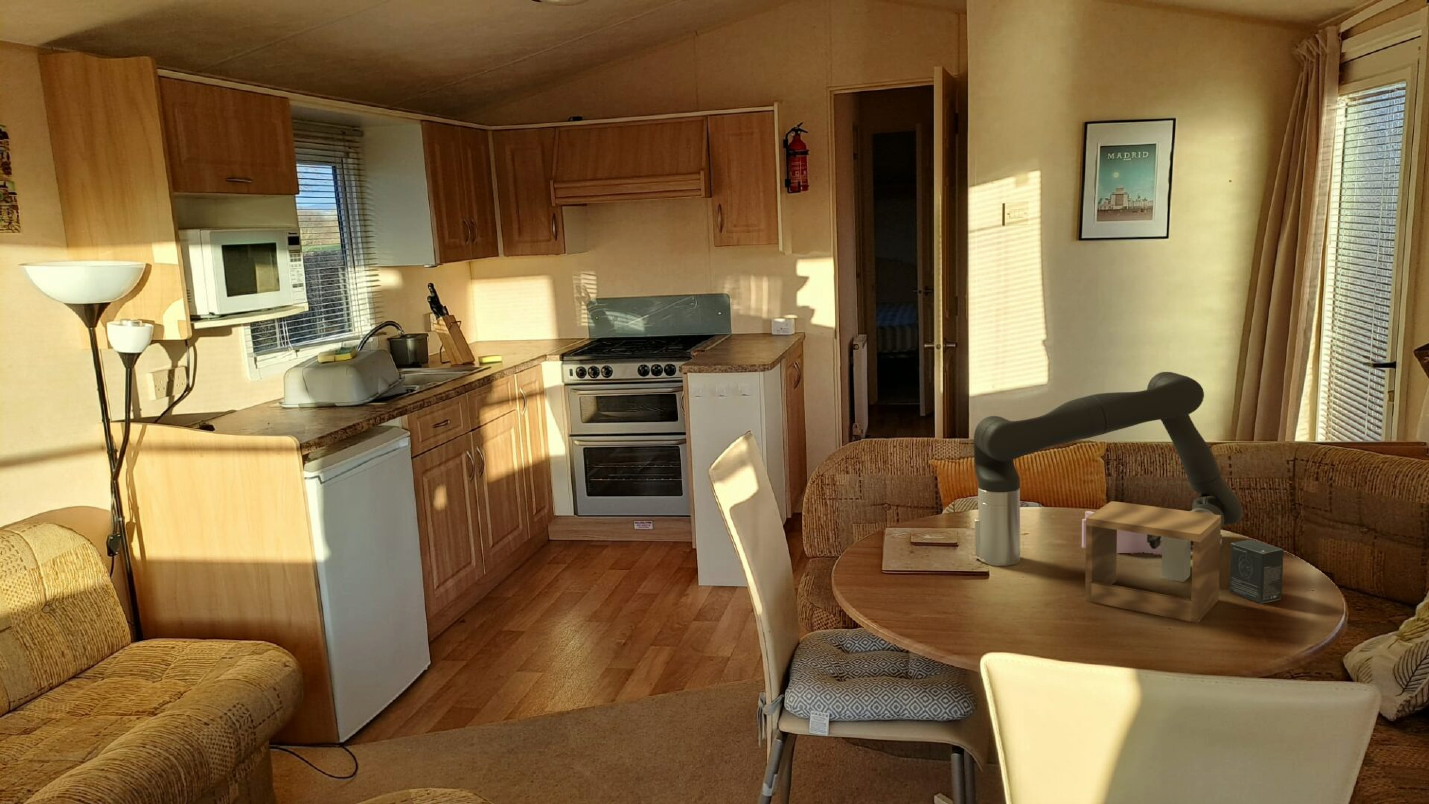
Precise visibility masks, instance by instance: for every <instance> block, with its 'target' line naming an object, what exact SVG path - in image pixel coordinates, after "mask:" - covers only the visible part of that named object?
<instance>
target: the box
mask: <svg viewBox="0 0 1429 804" xmlns="http://www.w3.org/2000/svg"><path fill="white" fill-rule="evenodd" d="M1229 567H1230V568H1229V574H1230V575H1229V592H1230V593H1231V594H1234V595H1236V596H1237V595H1238V596H1241V597H1242V598H1243V597H1244V598H1245V599H1248V600H1251V601H1253V602H1256V603H1259V604H1264V603H1265V604H1267V603H1271V602H1276V601H1280V600H1282V597H1283V595H1282V594H1283V593H1282V592H1283V572H1284V570H1283V569H1284V548H1281V547H1278V546H1275V545H1271V544H1268V543H1264V542H1262V541H1258V540H1254V539H1246V540H1240V541H1235V542H1231V543H1230V566H1229Z"/></svg>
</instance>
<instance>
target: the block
mask: <svg viewBox="0 0 1429 804" xmlns="http://www.w3.org/2000/svg"><path fill="white" fill-rule="evenodd" d="M1191 553H1192V550H1191V541H1189V540H1182V539H1176V538H1169V537H1162V555H1161V579H1163V578H1165V579H1164V580H1169V581H1175V582H1180V583H1185V581H1186V580H1188V578H1190V576H1191V558H1192V557H1191V555H1192V554H1191Z"/></svg>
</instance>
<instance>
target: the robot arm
mask: <svg viewBox="0 0 1429 804" xmlns="http://www.w3.org/2000/svg"><path fill="white" fill-rule="evenodd" d="M1204 397H1205V392H1204V388H1203V387H1202V386H1201V384H1200V383H1199V382H1198V381H1197V380H1195V379H1193V378H1192V377H1189V376H1186V375H1183V374H1180V373H1178V372H1177V373H1176V372H1172V371H1160V372H1159V373H1157V374H1154V376H1153V377H1151V378H1150V380H1149V382H1148V384H1147V387H1146V389H1144V390H1138V391H1127V392H1126V391H1122V392H1120V391H1119V392H1104V393H1095V394H1091V395H1086V396H1082V397H1079V398H1078V397H1077V398H1075V399H1074V398H1073V399H1072V400H1069V401H1067V402H1064V403H1062V404H1061V405H1059V406H1057V407H1056V408H1054V409H1053V410H1050V411H1049V412H1048V413H1047V412H1046V413H1045V414H1044V415H1040V416H1035V417H1031V418H1027V419H1019V420H1009V419H1006V418H1005V417H1002V416H998V415H990V416H987V417H985V418H983V419H982V420H980V422H979V423H978V424H977V425H976V427H975V430H974V433H973V461H974V471H975V476H976V479H977V501H978V504H977V505H978V506H977V507H978V509H977V510H978V511H977V512H978V514H977V516H978V517H977V518H976V519H975V520H974V557H975V556H977V557H980V558H981V559H984V560H985V562H987V564H986V565H990V566H995V567H1000V566H1001V567H1004V566H1005V567H1006V566H1013V565H1016V564H1019V562H1020V561H1021V478H1020V475H1019V472H1018V471H1017V469H1016V466H1015V460H1017V459H1019V458H1021V457H1024V456H1028V455H1030V454H1032V453H1034V452H1037V451H1040V450H1043V449H1046V448H1050V447H1053V446H1059V445H1065V444H1068V443H1069V444H1070V443H1072V442H1073V443H1074V442H1076V441H1081V440H1085V439H1086V440H1087V439H1091V438H1094V437H1098V436H1102V435H1105V434H1109V433H1111V432H1112V433H1113V432H1115V431H1119V430H1123V429H1127V428H1130V427H1133V426H1137V425H1140V424H1144V423H1147V422H1153V421H1159V420H1160V421H1161V423H1162V425H1163V427H1164V429H1165V430H1166V432H1167V434H1168V436H1169V438H1170V440H1171V441H1172V444H1173V446H1174V448H1175V450H1176V452H1177V455H1178V457H1179V459H1180V462H1181V465H1182V468H1183V469H1184V470H1183V471H1184V473H1185V475H1186V478H1187V480H1188V483H1189V486H1190V488H1191V490H1192V491H1193V492H1195V493H1197V494H1202V495H1203V494H1204V495H1207V496H1201V497H1197V498H1196V499H1194V500H1193V501H1192V505H1191V507H1192V509H1191V510H1190V511H1191V512H1199V513H1206V514H1214V515H1221V528H1223V526H1224V525H1226V526H1227V525H1234V524H1237V523H1239V521H1241V520H1242V517H1243V513H1244V512H1243V509H1244V508H1243V506H1242V503H1241V501H1240V499H1239V497H1238V496H1237V495H1236V494H1235V492H1234V491H1233V490H1232V489H1231V488H1230V487H1229V485H1228V483H1226V481H1225V480H1224V478H1223V476H1222V473H1221V471H1220V469H1219V465H1218V462H1217V460H1216V458H1215V455H1214V453H1213V452H1212V449H1211V448H1210V447H1209V445H1208V444H1207V442H1206V441H1205V439H1204V437H1203V436H1202V435H1201V433H1200V432H1199V431H1198V429H1197V428H1196V426H1195V424H1194V422H1193V420H1192V418H1191V416H1190V414H1192V413H1194V412H1195V411H1197V410H1198V408H1200V407H1201V405H1202V403H1203V402H1204ZM1208 495H1209V496H1208ZM1160 539H1161V536H1155V535H1149V534H1147V542H1148V543H1150V546H1151V548H1152V549H1156V548H1157V547H1158V546H1160V545H1162V541H1160ZM1222 544H1223V535H1222V534H1221V537H1220V548H1221V547H1222ZM1191 551H1193V541H1191Z"/></svg>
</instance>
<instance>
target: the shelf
mask: <svg viewBox="0 0 1429 804" xmlns="http://www.w3.org/2000/svg"><path fill="white" fill-rule="evenodd" d="M1093 512H1094V513H1093V514H1091V515H1090V516H1088V517H1087V518H1086V548H1085V590H1084V591H1085V594H1084V595H1085V598H1084V599H1085V600H1084V601H1085V602H1089V603H1094V604H1100V605H1104V606H1110V607H1114V608H1120V609H1126V610H1131V611H1135V612H1141V613H1145V614H1150V615H1156V616H1160V617H1164V618H1165V617H1167V618H1170V619H1171V618H1172V619H1176V620H1181V621H1184V622H1185V621H1187V622H1192V623H1197V624H1198V623H1199V622H1200V621H1201V620H1202V619H1203V617H1205V615H1206V614H1207V613H1208V612H1209V611H1210V610H1211V609H1212V607H1214V605H1215V604H1216V603H1217V602H1218V601H1219V599H1220V598H1219V596H1220V595H1219V593H1220V592H1219V589H1220V565H1221V564H1220V562H1221V561H1220V559H1221V547H1220V537H1221V535H1222V533H1221V531H1222V527H1221V515H1214V514H1206V513H1199V512H1191V510H1182V509H1175V508H1166V507H1159V506H1154V505H1153V506H1152V505H1145V504H1137V503H1129V502H1123V501H1122V502H1120V501H1114V500H1111V501H1110V502H1108V503H1106V504H1105V505H1104V506H1102V507H1101V508H1099V509H1097V510H1096V511H1093ZM1117 530H1122V531H1129V532H1135V533H1142V534H1149V535H1155V536H1162V537H1169V538H1176V539H1182V540H1189V541H1193V550H1192V563H1191V565H1192V568H1191V569H1192V571H1191V598H1185V597H1180V596H1175V595H1169V594H1163V593H1159V592H1152V591H1148V590H1143V589H1142V590H1141V589H1137V588H1131V587H1126V586H1121V585H1117V584H1116V585H1115V583H1116V582H1117V557H1118V555H1117ZM1217 600H1218V601H1217ZM1201 618H1202V619H1201ZM1199 620H1200V621H1199Z"/></svg>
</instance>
